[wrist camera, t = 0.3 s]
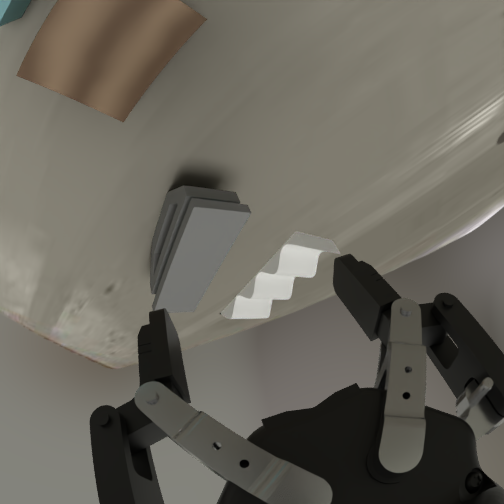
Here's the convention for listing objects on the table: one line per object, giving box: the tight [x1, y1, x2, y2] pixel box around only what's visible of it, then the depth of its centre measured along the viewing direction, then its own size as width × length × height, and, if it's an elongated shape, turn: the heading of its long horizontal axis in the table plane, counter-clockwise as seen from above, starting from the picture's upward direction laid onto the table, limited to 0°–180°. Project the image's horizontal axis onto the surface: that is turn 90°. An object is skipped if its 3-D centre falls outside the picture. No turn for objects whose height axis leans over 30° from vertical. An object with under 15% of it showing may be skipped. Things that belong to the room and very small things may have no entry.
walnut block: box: [16, 0, 207, 122], centre depth 22 cm, size 14×14×6 cm
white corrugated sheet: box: [220, 231, 340, 319], centre depth 77 cm, size 13×35×5 cm, turn 146°
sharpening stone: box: [150, 185, 251, 313], centre depth 48 cm, size 25×8×11 cm, turn 154°
